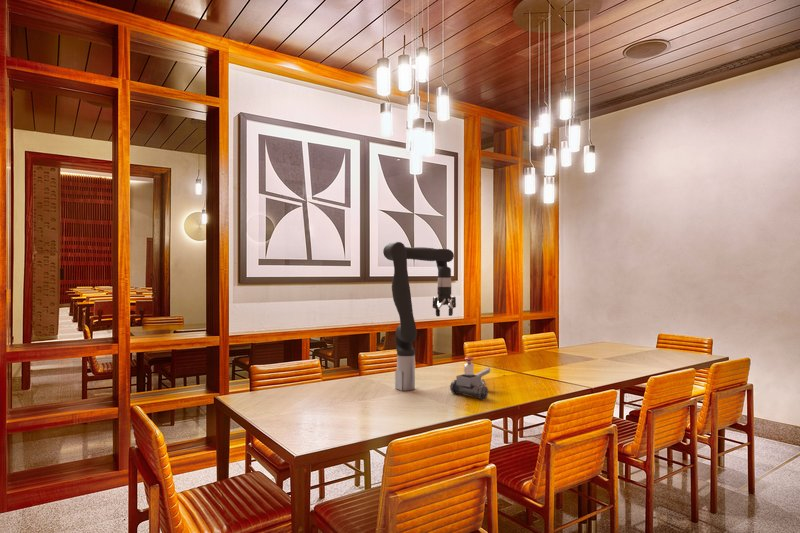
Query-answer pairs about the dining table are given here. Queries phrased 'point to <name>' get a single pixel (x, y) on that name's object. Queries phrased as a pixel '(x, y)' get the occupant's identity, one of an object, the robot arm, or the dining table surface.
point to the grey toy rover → (469, 386)
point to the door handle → (483, 375)
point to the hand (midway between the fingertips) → (444, 316)
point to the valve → (469, 368)
